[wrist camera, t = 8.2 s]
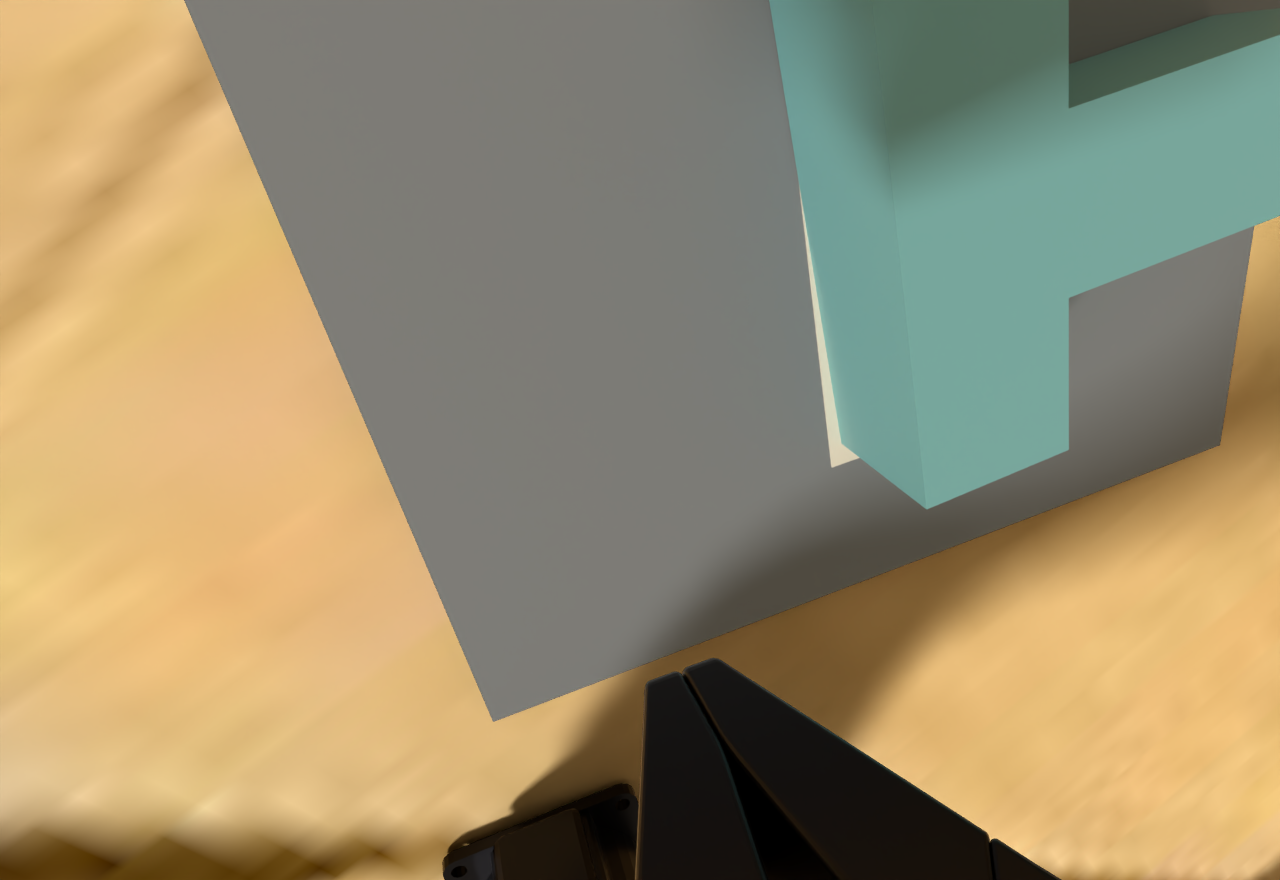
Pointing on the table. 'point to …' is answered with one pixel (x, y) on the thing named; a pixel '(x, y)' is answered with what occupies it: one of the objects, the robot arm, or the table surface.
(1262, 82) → the t block
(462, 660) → the table surface
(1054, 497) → the mat
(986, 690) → the table surface
